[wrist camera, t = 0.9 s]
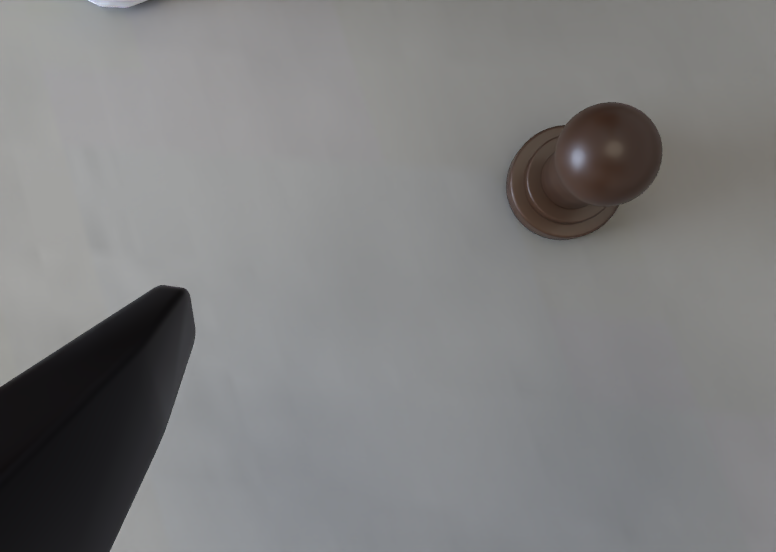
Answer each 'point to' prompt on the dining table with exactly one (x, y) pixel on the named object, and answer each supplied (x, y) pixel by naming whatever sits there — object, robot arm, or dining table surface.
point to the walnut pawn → (583, 170)
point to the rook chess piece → (116, 3)
